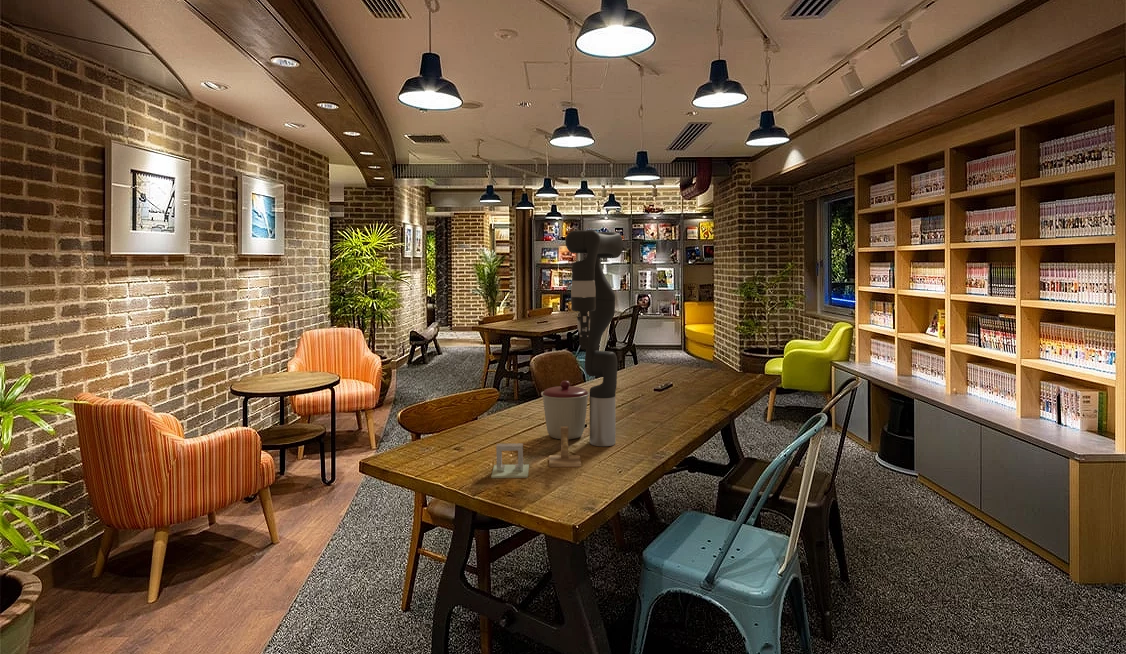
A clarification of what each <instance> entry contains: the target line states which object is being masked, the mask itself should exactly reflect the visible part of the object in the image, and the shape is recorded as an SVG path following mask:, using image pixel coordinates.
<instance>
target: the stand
mask: <svg viewBox="0 0 1126 654" xmlns="http://www.w3.org/2000/svg"><path fill="white" fill-rule="evenodd" d="M569 448H570V447H569V439H568V427H561V439H560V454H555V455H549V457H548V458H549V464H548V465H549V468H555V467H557V468H559V467H560V468H561V467H562V468H564V467H567V468H569V467H571V468H572V467H573V468H574V467H575V468H576V467H577V468H578V467H582V462H581V461H582V460H581V456H580V454H569Z"/></svg>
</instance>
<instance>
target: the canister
mask: <svg viewBox="0 0 1126 654" xmlns="http://www.w3.org/2000/svg"><path fill="white" fill-rule="evenodd" d="M559 385H560V386H552V387H549V388H546V389H544V391H541V393H540V395H541V397H542V400H543V410H544V418H545V425H546V431H547V434H548V435H549V437H551V438H553V439H555V440H561V427H568V440H575V439H578V438H580V437H582V436H583V434H584V431H585V427H586V426H585V425H586V418H587V408H588V398H589V397H590V391H588V390H587V389H586V388H583V387H579V386H574V385H573V386H572V385H571V383H570V381H569V380H561V382H560V384H559Z"/></svg>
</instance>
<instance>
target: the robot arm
mask: <svg viewBox="0 0 1126 654" xmlns="http://www.w3.org/2000/svg"><path fill="white" fill-rule="evenodd" d="M565 247H566V249H567V250H568V251H569V252H570V253H571V254H587V255H586V256H585V258H584V259H582V260H577V261H574V262H573V263H572V265H571V287H570V290H571V291H570V292H571V293H570V302H571V303H570V304H571V306H570V308H571V311H572V312H578V314H577V315H578V316H576V323H577V329H578V334H579V335H578V336H579V339H578V341H579V342H578V343H579V346H580V350H585V354H584V355H585V356H584V369H585V374H586V375H588V376H590V377H597V378H602V382H601V383H600V384H597V385H594V386H591V387H590V388H589V393H590V394H589V444H590V445H592V446H595V447H596V446H597V447H609V446H611V447H612V446H614V445H615V444H616V392H617V386H618V365H619V364H618V356H617V355H616V353H615V352H613V351H609V350H608V351H607V350H606V351H605V350H600V344H601V340H602V337H603V334H604V333H605V331H606V329H608V327H609V325H610V323H611V322H612V320H613V318H614V316H615V313H616V293H615V292H614V289H613V288H612V286H611V284H610V283H609V281H608V279H607V278H606V275H605V273H604V271H603V268H602V267H603V266H602V260H601V259H616V258H619V257H620V256H621V255H622V253H623V249H624V241H623V237H622V235H621V234H620V233H619V232H617V231H616V232H615V231H598V230H595V229H587V230H585V229H582V230H580V229H579V230H577V229H576V230H571V231H569V232H568V234H567V235H566V237H565Z"/></svg>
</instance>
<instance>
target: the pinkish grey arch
mask: <svg viewBox="0 0 1126 654" xmlns="http://www.w3.org/2000/svg"><path fill="white" fill-rule="evenodd" d="M495 447H496V450H495V452H496V453H495V454H496V456H495V457H496V465H497V472H504V471H505V465H506V464H505V463H503V452H507V451H509V452H513V451H514V452H515V451H517V456H518V457H517V463H516V464H515V465H516V466H515V472H523V464H524V443H520V442H519V443H510V442H509V443H496V446H495Z"/></svg>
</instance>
